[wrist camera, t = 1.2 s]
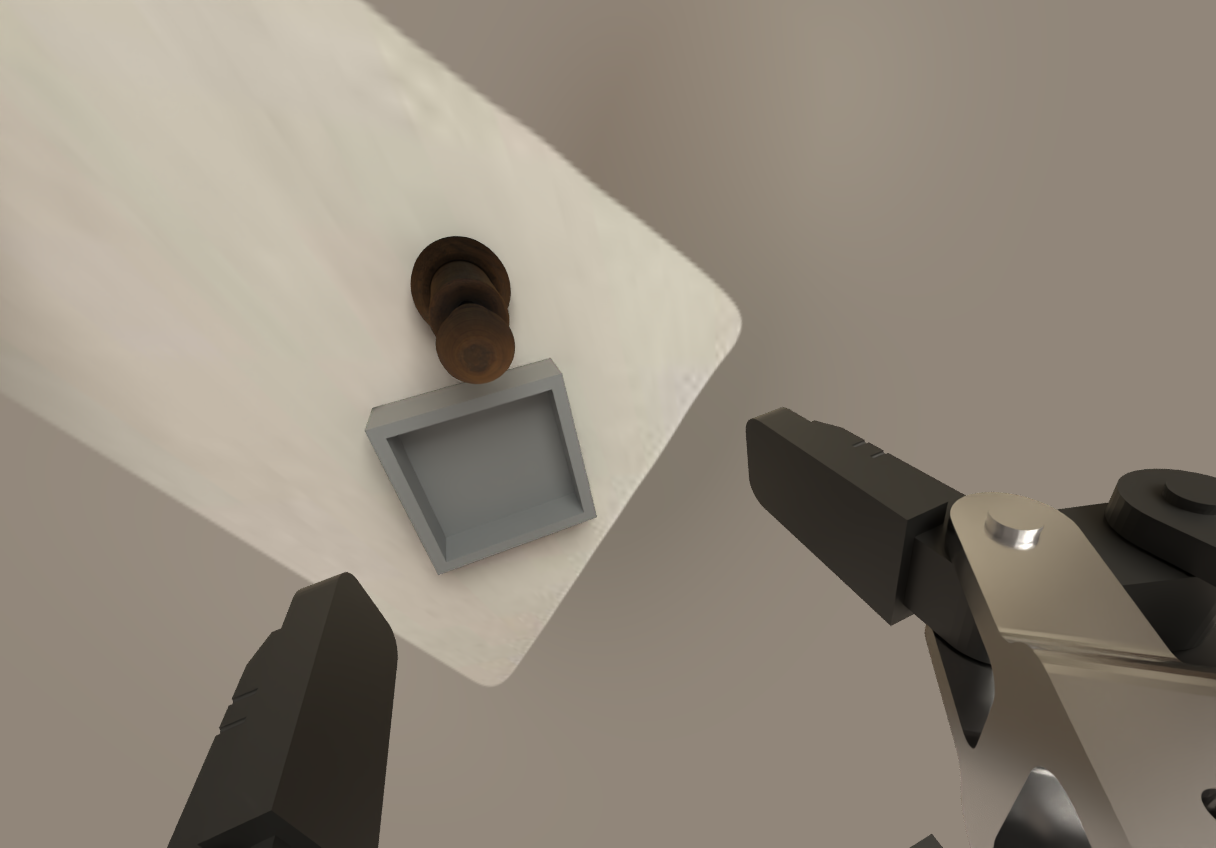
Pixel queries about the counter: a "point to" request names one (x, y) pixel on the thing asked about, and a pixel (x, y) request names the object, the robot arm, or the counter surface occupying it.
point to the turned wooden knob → (465, 307)
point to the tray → (485, 463)
